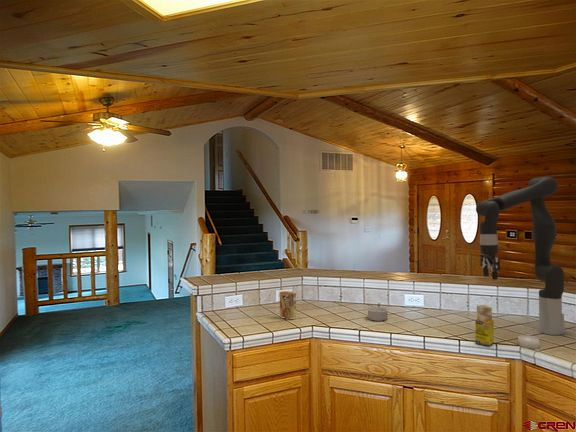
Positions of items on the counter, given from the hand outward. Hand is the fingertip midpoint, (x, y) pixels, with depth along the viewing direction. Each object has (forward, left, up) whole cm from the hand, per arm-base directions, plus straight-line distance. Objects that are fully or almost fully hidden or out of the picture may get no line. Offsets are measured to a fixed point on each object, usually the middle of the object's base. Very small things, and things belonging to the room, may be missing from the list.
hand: (490, 277), depth 182 cm
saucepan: (+47, -35, -28) cm, 65 cm away
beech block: (+7, +9, -17) cm, 21 cm away
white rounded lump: (-11, +11, -28) cm, 32 cm away
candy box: (+98, -32, -28) cm, 107 cm away
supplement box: (+7, +9, -28) cm, 30 cm away
